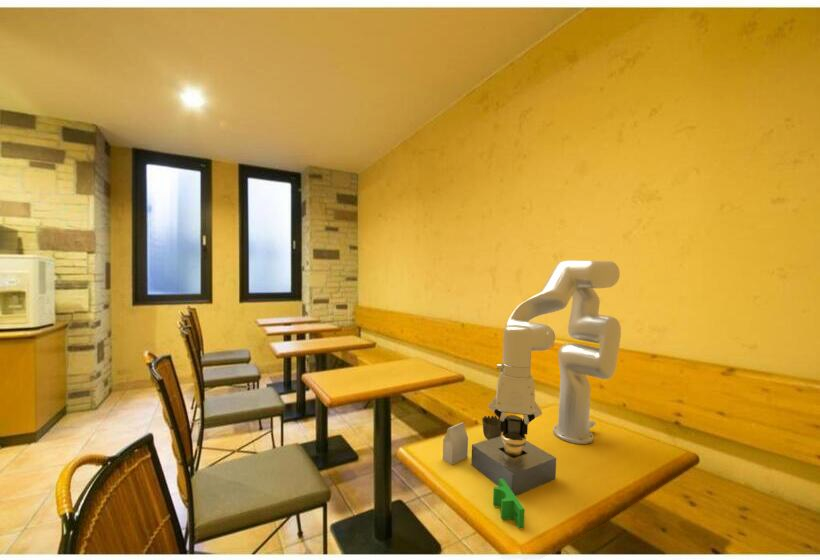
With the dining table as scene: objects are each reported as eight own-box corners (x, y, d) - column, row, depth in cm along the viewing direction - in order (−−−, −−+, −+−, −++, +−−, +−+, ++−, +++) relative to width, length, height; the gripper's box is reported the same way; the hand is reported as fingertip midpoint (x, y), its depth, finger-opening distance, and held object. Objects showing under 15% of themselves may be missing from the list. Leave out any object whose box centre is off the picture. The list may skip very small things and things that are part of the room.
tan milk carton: (467, 457, 106) (468, 424, 106) (451, 465, 102) (452, 431, 102) (458, 452, 109) (459, 420, 109) (442, 459, 105) (443, 426, 104)
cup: (505, 451, 110) (506, 426, 110) (481, 448, 111) (482, 423, 111) (504, 440, 117) (505, 416, 117) (481, 437, 119) (482, 414, 118)
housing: (511, 451, 110) (512, 432, 110) (555, 479, 96) (556, 457, 96) (471, 464, 102) (471, 444, 102) (512, 497, 88) (513, 473, 88)
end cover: (512, 448, 104) (513, 411, 103) (530, 460, 98) (532, 421, 97) (494, 454, 100) (496, 416, 100) (512, 466, 94) (514, 426, 94)
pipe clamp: (488, 497, 89) (488, 479, 88) (502, 496, 89) (502, 478, 89) (507, 530, 78) (508, 509, 77) (523, 528, 78) (524, 508, 78)
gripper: (484, 370, 97) (481, 436, 97) (550, 377, 92) (547, 446, 93) (485, 363, 104) (483, 424, 105) (547, 369, 99) (544, 433, 100)
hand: (513, 434), depth 99 cm, fingers closed on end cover, 4 cm apart
